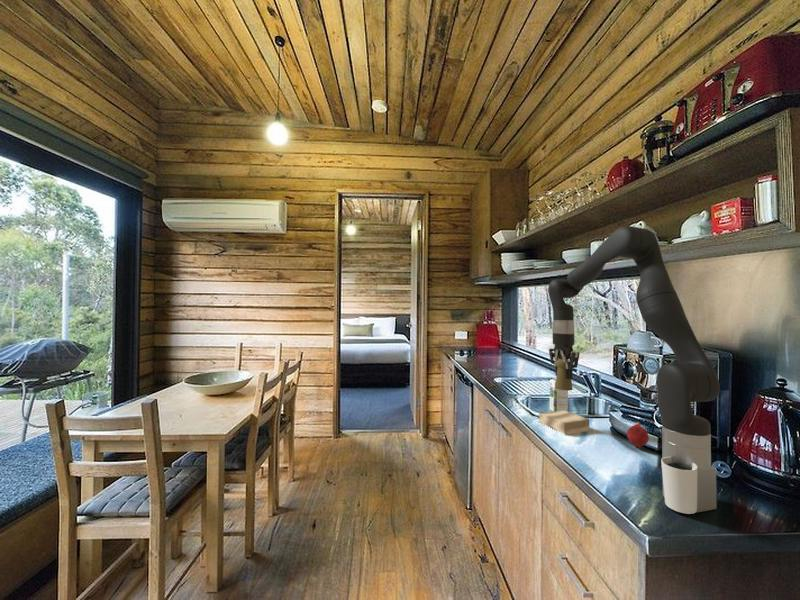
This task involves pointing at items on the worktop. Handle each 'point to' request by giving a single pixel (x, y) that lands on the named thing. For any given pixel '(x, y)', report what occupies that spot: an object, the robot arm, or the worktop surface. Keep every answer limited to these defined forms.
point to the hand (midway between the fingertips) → (563, 377)
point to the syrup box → (558, 398)
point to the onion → (637, 435)
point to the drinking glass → (680, 486)
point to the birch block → (564, 422)
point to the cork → (562, 377)
